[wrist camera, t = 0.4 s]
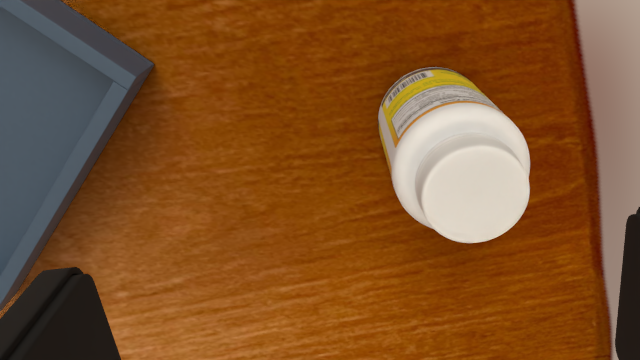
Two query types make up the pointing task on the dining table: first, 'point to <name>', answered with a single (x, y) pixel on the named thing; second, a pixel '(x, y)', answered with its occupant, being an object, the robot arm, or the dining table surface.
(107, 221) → the dining table surface
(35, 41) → the tray
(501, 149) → the supplement bottle
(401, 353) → the dining table surface
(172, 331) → the dining table surface
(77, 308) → the robot arm
